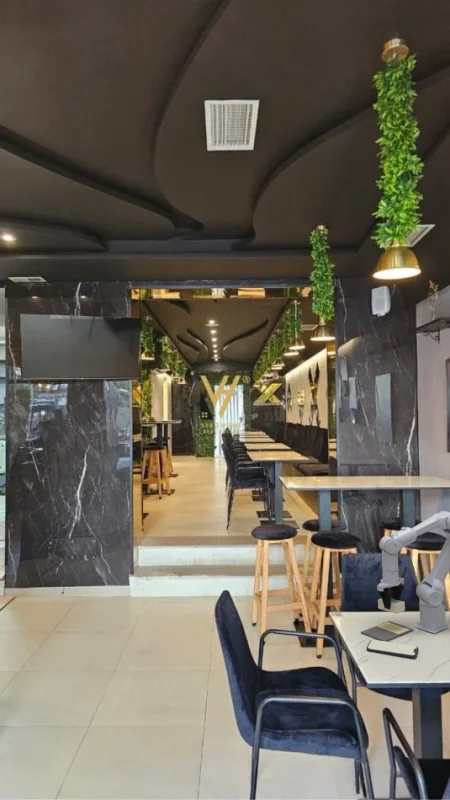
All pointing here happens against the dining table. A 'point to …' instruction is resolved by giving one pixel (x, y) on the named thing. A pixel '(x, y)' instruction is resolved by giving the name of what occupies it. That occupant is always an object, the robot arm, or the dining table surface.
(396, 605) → the card box
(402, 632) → the mat
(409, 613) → the dining table surface
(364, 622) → the dining table surface
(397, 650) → the phone case
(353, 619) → the dining table surface
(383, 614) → the dining table surface
